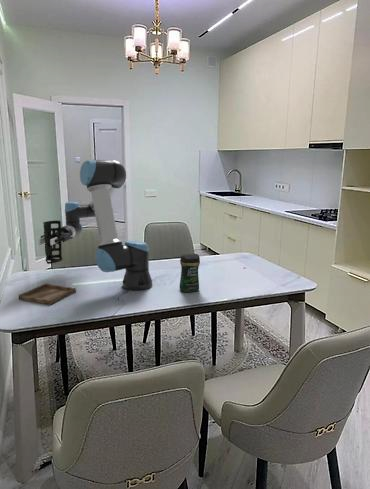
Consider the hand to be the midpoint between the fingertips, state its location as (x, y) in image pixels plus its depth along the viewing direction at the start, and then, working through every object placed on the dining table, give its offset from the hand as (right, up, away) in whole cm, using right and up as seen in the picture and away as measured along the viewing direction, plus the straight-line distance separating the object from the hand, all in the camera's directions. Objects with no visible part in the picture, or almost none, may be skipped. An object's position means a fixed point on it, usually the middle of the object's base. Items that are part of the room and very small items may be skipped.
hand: (45, 242), depth 178 cm
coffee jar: (+69, -24, +7) cm, 74 cm away
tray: (+2, -25, -3) cm, 26 cm away
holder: (+1, -9, +7) cm, 12 cm away
